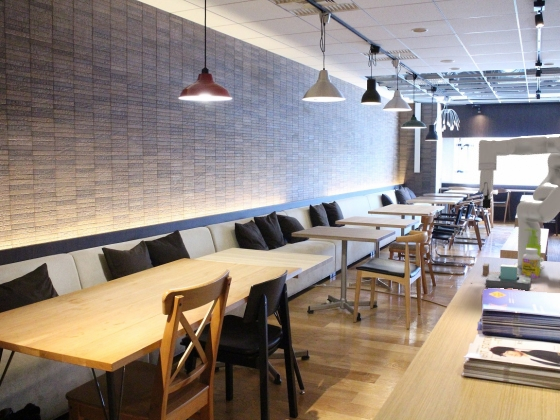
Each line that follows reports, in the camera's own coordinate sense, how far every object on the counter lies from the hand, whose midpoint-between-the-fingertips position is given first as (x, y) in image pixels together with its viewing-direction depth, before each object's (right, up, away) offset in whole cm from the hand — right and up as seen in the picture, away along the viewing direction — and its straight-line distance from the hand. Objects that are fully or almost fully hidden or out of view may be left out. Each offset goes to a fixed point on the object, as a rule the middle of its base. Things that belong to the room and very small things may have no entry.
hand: (486, 208), depth 244 cm
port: (0, -31, -24) cm, 39 cm away
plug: (0, -32, -24) cm, 39 cm away
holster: (+1, -30, -8) cm, 31 cm away
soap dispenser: (+19, -30, -3) cm, 35 cm away
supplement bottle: (+14, -30, -12) cm, 36 cm away
